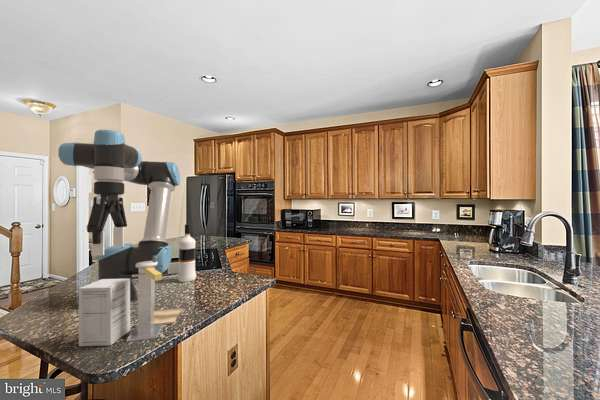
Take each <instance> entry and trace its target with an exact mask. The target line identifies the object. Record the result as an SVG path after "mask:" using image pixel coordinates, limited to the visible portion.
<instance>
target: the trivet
mask: <svg viewBox="0 0 600 400" xmlns="http://www.w3.org/2000/svg"><path fill="white" fill-rule="evenodd" d="M181 311H182V307H176V308H166V309H158V310H155V309H154V325H155V324H164V326H165V325H174V324H175V322H176V321H177V319H178V317H179V315H180V313H181ZM137 326H138V321H137V322H136V324H135V325H134V329H135V328H136V327H137Z"/></svg>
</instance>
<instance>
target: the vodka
mask: <svg viewBox="0 0 600 400" xmlns="http://www.w3.org/2000/svg"><path fill="white" fill-rule="evenodd" d="M196 243H197V242H196V240H195V238H193V237H192V236H191V224H189V223H187V224H184V236H183V237H181V238H180V239H179V240H178V273H177V277H176V278H177V281H178V282H180V283H189V282H190V283H191V282H193V281H194V280H196V279H197V272H196V245H197V244H196Z"/></svg>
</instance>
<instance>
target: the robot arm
mask: <svg viewBox="0 0 600 400" xmlns="http://www.w3.org/2000/svg"><path fill="white" fill-rule="evenodd" d="M57 150H58V158H59V160H60V162H61V163H62V164H64V165H66V166H72V167H77V166H79V167H84V168H89V169H91V170H93V171H92V174H93V179H94V180H95V182H93V194H95V195H99V196H94V197H93V202H92V208H91V212H90V216H89V219H88V223H87V226H86V232H87V233H91V257H92V256H93V257H95V256H96V257H97V256H98V258H97V261H98V270H97V272H98V275H97V276H98V279H97V281H98V280H101V279H130V302H132V301H134V300H136V299H137V298H138V290H137V289H136V287H135V284H134V282H133V276H134V275H135V276H138V275H139V268H137V267H136V263H139V262H144V261H152V258H153V256H154V255H157V262H158V265H156V266H155V269H156V270H157V271H159V272H160V273H162V274H163V273H165V272H166V271H167V270H168V268H169V266H170V264H171V261H172V256H173V255H172V254H173V253H172V252H173V249H172V247H171V246H170V245H169V242H168V240H166V235H167V227H168V219H169V210H170V204H171V203H170V202H171V197H172V195H171V194H172V192H174V191H175V190H176V187H178V186H180V183H181V175H180V170H179V167H178V165H177V163H176V162H171V161H149V160H148V161H147V160H145V161H143V157H142V154H141V153H140V151H139V150H138V149H137V148H135V147H133V146H130V145H128V144H126V140H125V135H124V133H122V132H119V131H116V130H111V129H110V130H109V129H98V130H96V131H95V132H94V137H93V143H83V142H81V143H80V142H64V143H62V144H60V146H59V147H58V149H57ZM123 182H124V183H123ZM125 182H129V183H133V184H136V185H142V186H147V187H148V189H150V194H149V199H148V200H149V202H148V207H147V213H146V220H145V227H144V232H143V238H142V239H141V240H139V241H138V244H137V246H133V244H132V243H124V240H125V239H124V238H125V237H124V236H125V235H124V234H125V232H124V231H125V230H124V228H127V227H128V222H127V218H126V211H125V208H124V199H123V197H119V195H121V196H122V195H124V194H125ZM109 215H110V217H111V220H112V222H113V224H114V227H113V228H112V229H113V231H112V232H113V233H112V237H113V239H112V242H113V245H112V246H108V247H105V231H104V227H105V225H106V224H107V223H106V222H107V221H108V217H109Z"/></svg>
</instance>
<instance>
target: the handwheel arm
mask: <svg viewBox="0 0 600 400" xmlns="http://www.w3.org/2000/svg"><path fill="white" fill-rule="evenodd" d="M156 265H158V262H157V255H154V256H153V258H152V261H144V262H139V263H136V267H137V268H139V274H147V275H148V276H149V277H151V278H152V279H153V280H154V281H155V282H158V281H161V280H163V273H160V272H159V271H157V270H156V269H155V266H156Z"/></svg>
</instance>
